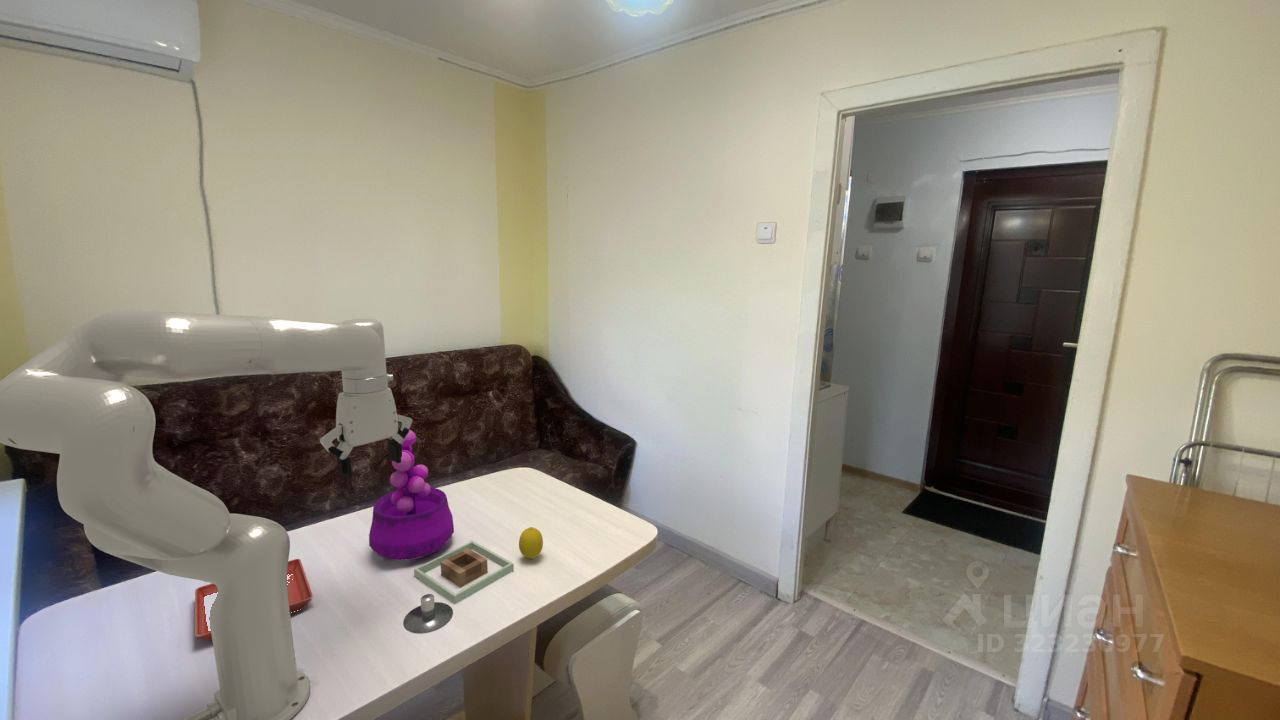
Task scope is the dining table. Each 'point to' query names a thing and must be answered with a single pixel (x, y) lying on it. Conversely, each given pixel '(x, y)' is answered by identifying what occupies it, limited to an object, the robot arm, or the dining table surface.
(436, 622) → the peg on round base
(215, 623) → the robot arm
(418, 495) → the decorative plant
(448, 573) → the wooden square frame
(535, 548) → the lemon
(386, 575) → the dining table surface
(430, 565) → the green rectangular frame
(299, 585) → the plant saucer
